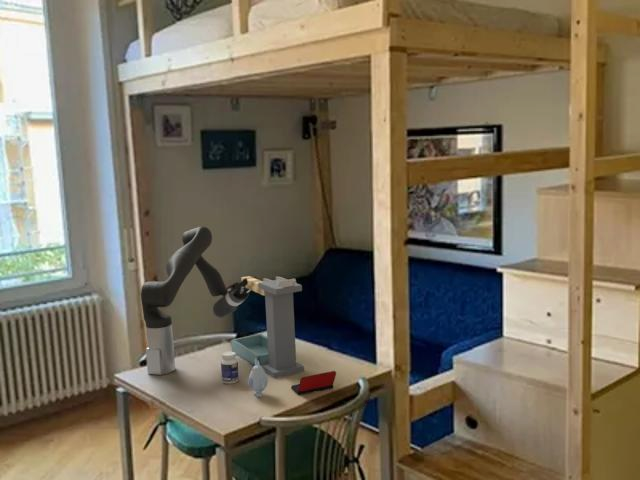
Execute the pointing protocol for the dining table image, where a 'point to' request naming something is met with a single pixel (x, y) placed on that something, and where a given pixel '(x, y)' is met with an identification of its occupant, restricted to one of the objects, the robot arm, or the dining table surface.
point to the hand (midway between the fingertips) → (251, 279)
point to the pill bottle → (229, 368)
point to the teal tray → (252, 349)
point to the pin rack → (280, 326)
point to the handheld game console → (315, 383)
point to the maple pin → (253, 285)
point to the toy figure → (258, 379)
